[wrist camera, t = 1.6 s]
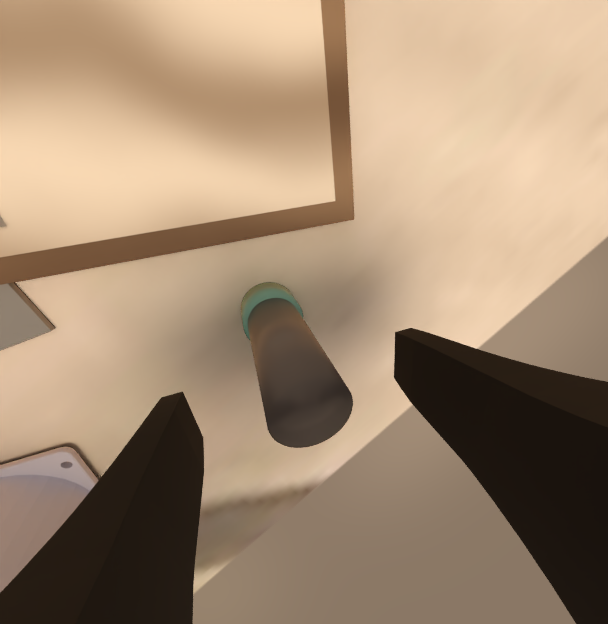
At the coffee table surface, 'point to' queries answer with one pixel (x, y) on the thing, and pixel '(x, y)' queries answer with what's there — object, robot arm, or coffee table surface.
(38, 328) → the grey slotted plate
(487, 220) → the coffee table surface
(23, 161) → the brown picture frame
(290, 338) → the marker
